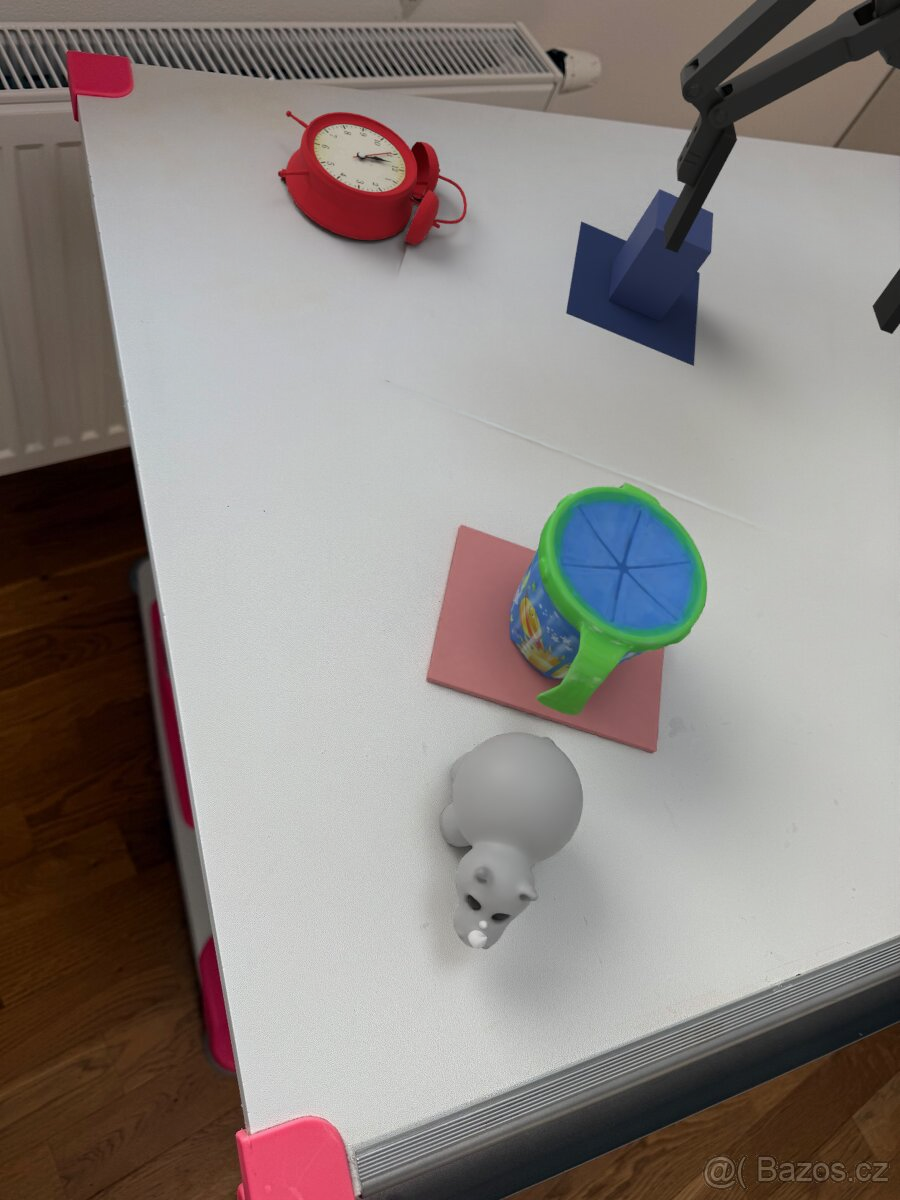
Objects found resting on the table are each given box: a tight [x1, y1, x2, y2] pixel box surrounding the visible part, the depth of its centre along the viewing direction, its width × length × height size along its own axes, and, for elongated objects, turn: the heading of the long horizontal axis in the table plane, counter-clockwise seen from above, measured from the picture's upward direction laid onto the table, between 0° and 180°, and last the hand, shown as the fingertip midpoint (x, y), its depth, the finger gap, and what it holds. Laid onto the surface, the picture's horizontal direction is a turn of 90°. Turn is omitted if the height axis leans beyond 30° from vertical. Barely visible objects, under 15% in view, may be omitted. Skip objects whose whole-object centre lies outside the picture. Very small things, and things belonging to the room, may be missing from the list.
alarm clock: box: [277, 110, 468, 246], centre depth 77 cm, size 10×6×15 cm
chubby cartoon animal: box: [438, 731, 584, 950], centre depth 53 cm, size 7×12×8 cm, turn 161°
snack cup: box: [509, 482, 708, 715], centre depth 61 cm, size 16×10×10 cm
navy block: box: [608, 188, 714, 321], centre depth 81 cm, size 5×5×8 cm
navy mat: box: [565, 221, 700, 367], centre depth 84 cm, size 12×12×1 cm
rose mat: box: [426, 524, 665, 754], centre depth 65 cm, size 16×12×1 cm
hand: (777, 281), depth 56 cm, fingers open, 13 cm apart
